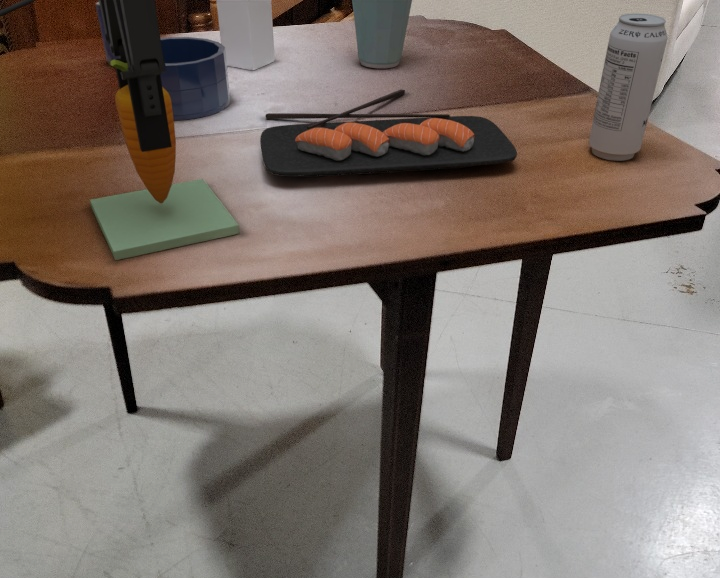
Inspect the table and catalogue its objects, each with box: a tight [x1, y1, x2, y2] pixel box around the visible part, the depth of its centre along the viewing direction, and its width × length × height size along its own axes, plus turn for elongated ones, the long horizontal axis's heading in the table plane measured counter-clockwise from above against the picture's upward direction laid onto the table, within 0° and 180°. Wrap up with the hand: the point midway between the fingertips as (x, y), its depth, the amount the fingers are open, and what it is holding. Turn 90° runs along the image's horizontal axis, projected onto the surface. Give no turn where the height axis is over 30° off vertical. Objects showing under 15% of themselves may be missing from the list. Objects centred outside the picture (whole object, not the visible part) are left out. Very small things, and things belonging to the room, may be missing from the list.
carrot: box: [110, 42, 177, 203], centre depth 68 cm, size 5×5×15 cm
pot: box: [160, 36, 231, 121], centre depth 99 cm, size 14×14×7 cm
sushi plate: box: [259, 88, 518, 178], centre depth 91 cm, size 29×30×4 cm
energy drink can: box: [588, 12, 669, 162], centre depth 83 cm, size 6×6×15 cm
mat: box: [89, 178, 240, 261], centre depth 73 cm, size 12×12×1 cm
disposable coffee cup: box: [351, 0, 413, 69], centre depth 112 cm, size 11×11×15 cm
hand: (149, 137), depth 68 cm, fingers closed on carrot, 5 cm apart
